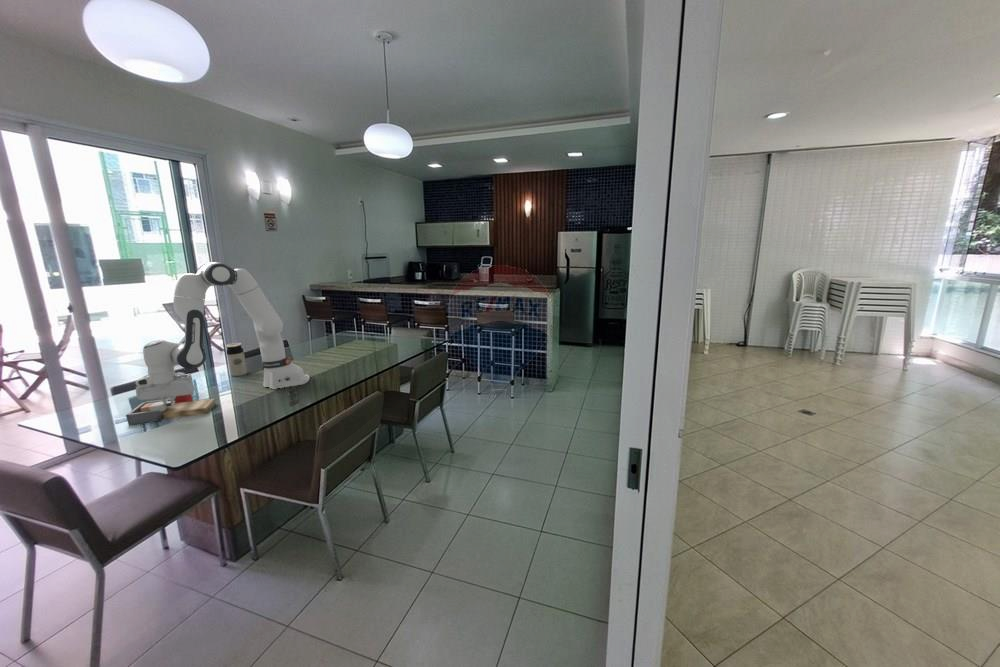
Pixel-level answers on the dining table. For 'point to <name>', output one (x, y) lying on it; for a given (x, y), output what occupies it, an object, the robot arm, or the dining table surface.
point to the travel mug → (236, 359)
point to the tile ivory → (158, 406)
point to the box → (145, 415)
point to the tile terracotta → (146, 407)
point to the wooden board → (189, 409)
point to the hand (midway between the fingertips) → (169, 405)
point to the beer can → (183, 398)
